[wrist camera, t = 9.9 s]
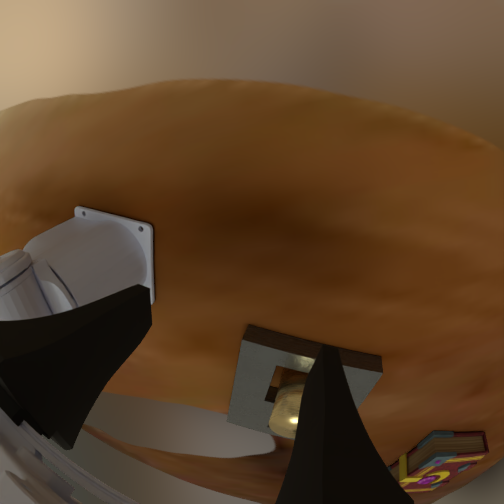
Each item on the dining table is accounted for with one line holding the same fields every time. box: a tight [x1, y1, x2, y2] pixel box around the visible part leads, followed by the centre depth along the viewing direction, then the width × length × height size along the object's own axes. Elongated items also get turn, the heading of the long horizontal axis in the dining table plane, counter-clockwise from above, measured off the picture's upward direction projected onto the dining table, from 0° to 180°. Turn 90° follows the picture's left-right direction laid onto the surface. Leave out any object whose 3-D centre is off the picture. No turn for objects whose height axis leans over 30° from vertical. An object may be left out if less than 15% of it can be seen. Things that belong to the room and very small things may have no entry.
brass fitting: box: [269, 367, 309, 438], centre depth 22 cm, size 4×4×6 cm
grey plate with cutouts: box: [227, 325, 383, 440], centre depth 25 cm, size 12×14×2 cm
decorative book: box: [387, 431, 489, 493], centre depth 25 cm, size 11×16×5 cm
